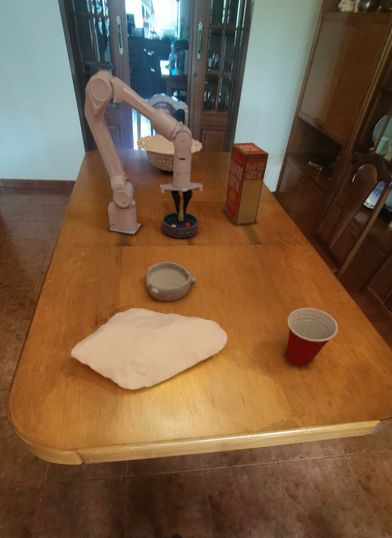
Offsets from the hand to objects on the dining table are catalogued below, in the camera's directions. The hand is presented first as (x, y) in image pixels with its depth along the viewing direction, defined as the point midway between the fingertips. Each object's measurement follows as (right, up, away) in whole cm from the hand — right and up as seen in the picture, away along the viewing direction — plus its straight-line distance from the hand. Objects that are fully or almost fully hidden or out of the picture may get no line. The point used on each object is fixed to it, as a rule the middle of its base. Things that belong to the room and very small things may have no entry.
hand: (180, 212), depth 114 cm
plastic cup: (+31, -52, -36) cm, 70 cm away
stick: (0, -2, +2) cm, 3 cm away
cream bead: (-3, -5, +3) cm, 6 cm away
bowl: (0, -5, +5) cm, 7 cm away
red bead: (+2, -3, +5) cm, 6 cm away
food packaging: (+23, +5, +17) cm, 29 cm away
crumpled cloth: (-5, -50, -38) cm, 63 cm away
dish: (-2, -32, -20) cm, 37 cm away
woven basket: (-8, +41, +47) cm, 63 cm away
